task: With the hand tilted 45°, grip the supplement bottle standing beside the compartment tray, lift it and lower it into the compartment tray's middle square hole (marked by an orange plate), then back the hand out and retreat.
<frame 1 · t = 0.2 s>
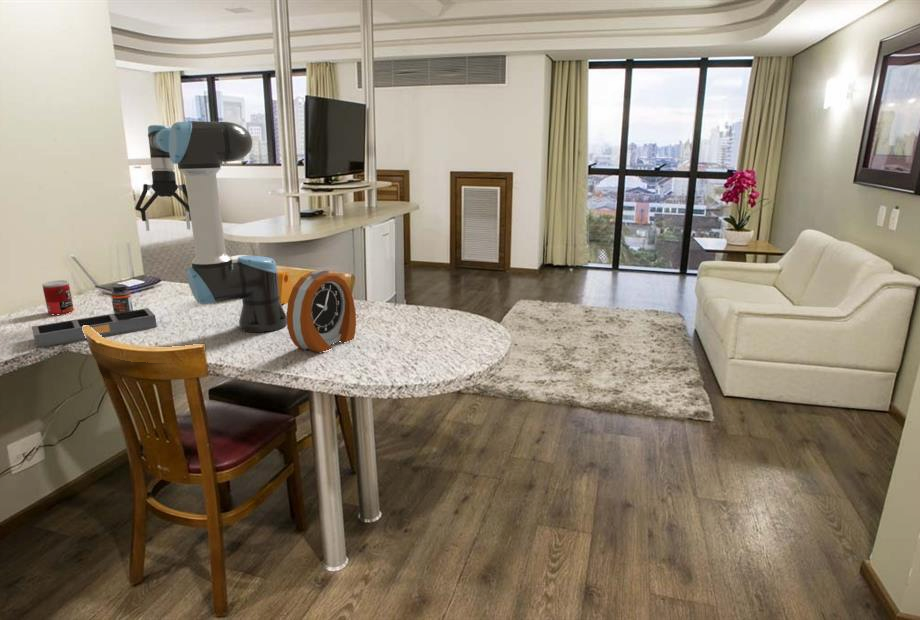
hand: (168, 230, 219), 27 cm above the table, tool pointing down, fingers open, 13 cm apart
supplement bottle: (124, 317, 209), on the table
yellow cheese block: (279, 302, 226), on the table
alarm clock: (326, 344, 182), on the table
canned food: (61, 313, 214), on the table
compartment tray: (97, 332, 192), on the table
jar: (243, 294, 238), on the table
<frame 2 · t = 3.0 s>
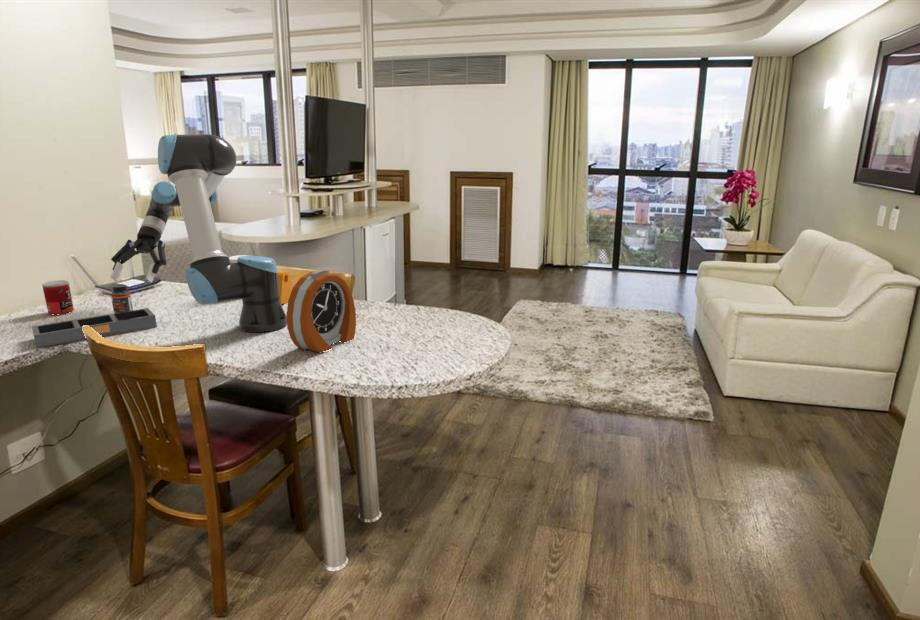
hand: (131, 280, 212), 11 cm above the table, tool tilted 45°, fingers open, 13 cm apart
nothing on the table moved.
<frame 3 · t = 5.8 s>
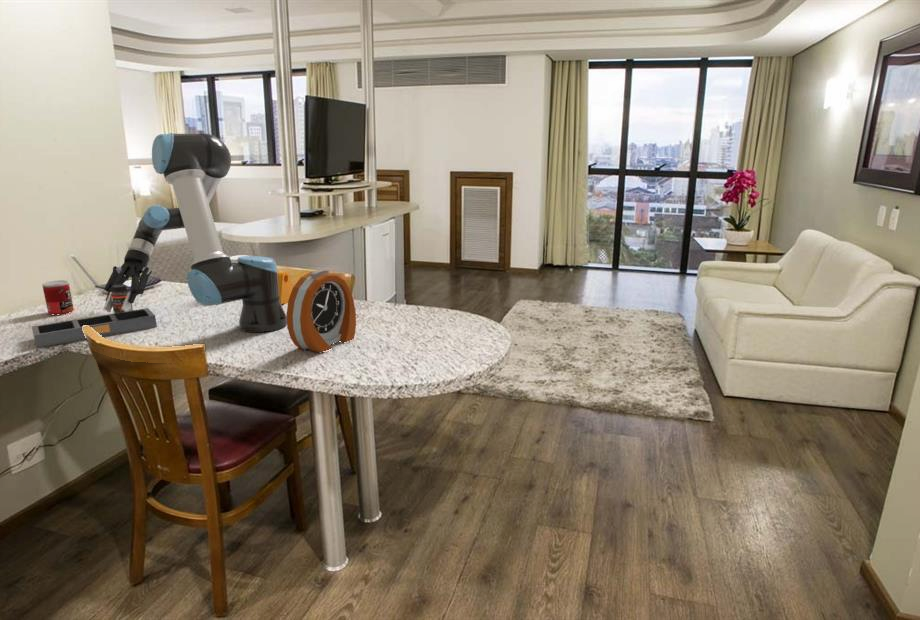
hand: (115, 310, 204), 3 cm above the table, tool tilted 45°, fingers closed on supplement bottle, 6 cm apart
supplement bottle: (124, 317, 209), on the table, touching gripper
everything else where it was.
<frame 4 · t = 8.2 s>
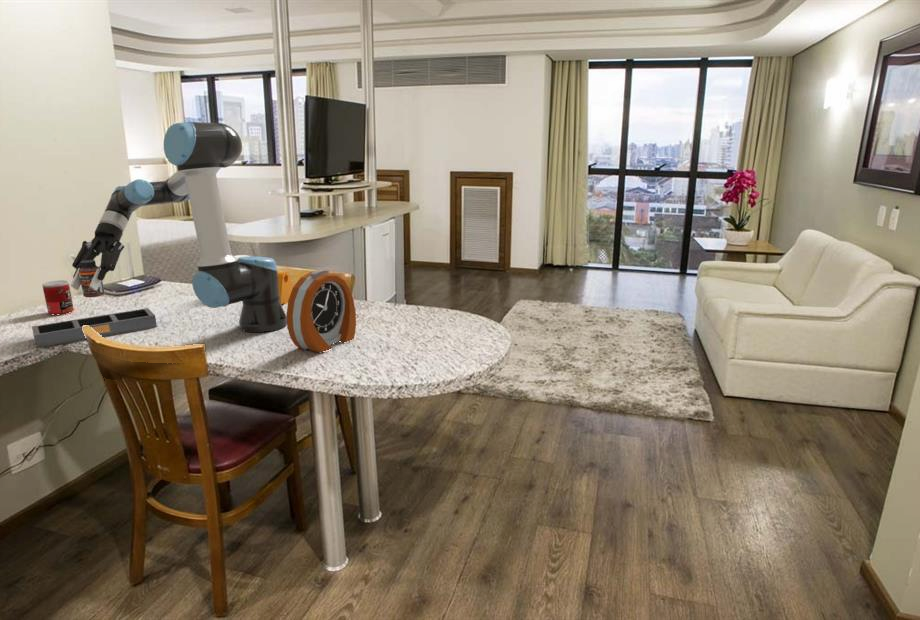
hand: (83, 288, 187), 15 cm above the table, tool tilted 45°, fingers closed on supplement bottle, 6 cm apart
supplement bottle: (94, 296, 192), point 11 cm above the table, touching gripper
everything else where it was.
when the fingers open (8 cm above the table, at t = 10.5 s): supplement bottle drops 4 cm, resting on compartment tray.
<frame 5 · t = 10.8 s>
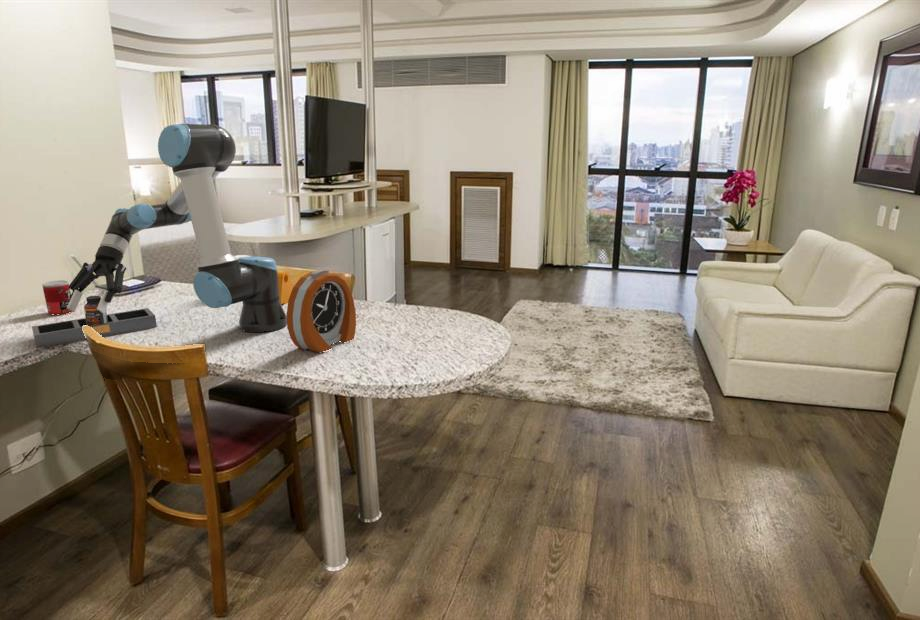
hand: (85, 310, 187), 8 cm above the table, tool tilted 45°, fingers open, 9 cm apart
supplement bottle: (98, 331, 192), resting on compartment tray
everything else where it was.
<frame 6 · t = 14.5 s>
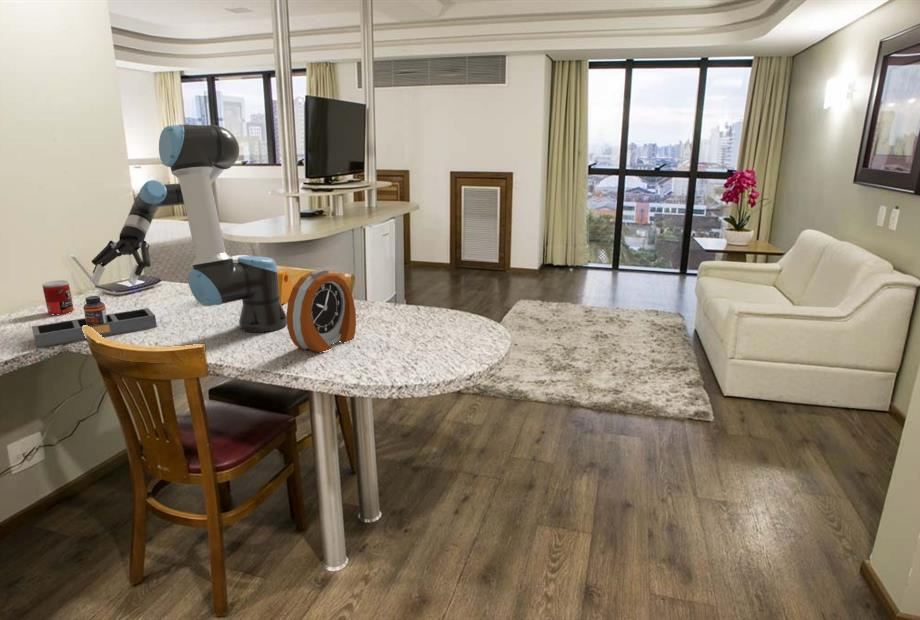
hand: (112, 283, 199), 14 cm above the table, tool tilted 45°, fingers open, 13 cm apart
nothing on the table moved.
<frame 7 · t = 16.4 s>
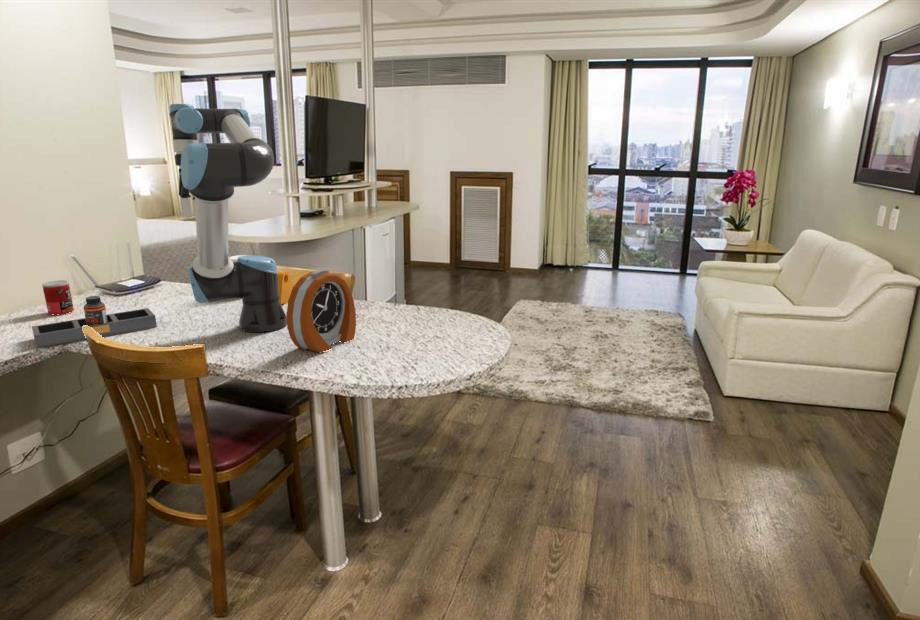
hand: (194, 218, 202), 34 cm above the table, tool pointing down, fingers open, 13 cm apart
nothing on the table moved.
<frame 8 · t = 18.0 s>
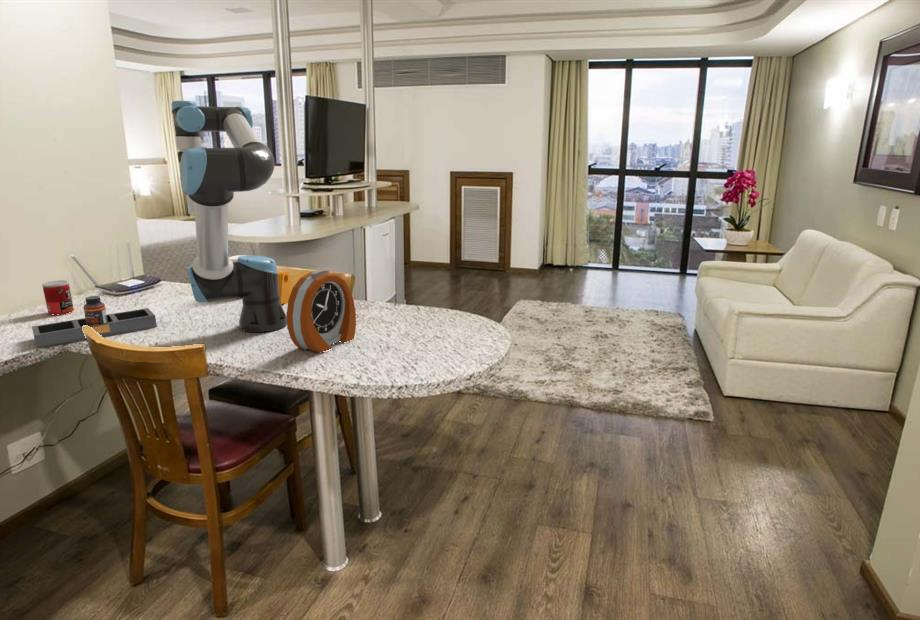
hand: (198, 215, 202), 35 cm above the table, tool pointing down, fingers open, 13 cm apart
nothing on the table moved.
at the end: supplement bottle 0.5 cm off-centre on the compartment tray, point 0.3 cm above the compartment tray's base; supplement bottle tilted 0°; the gripper is holding nothing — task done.
